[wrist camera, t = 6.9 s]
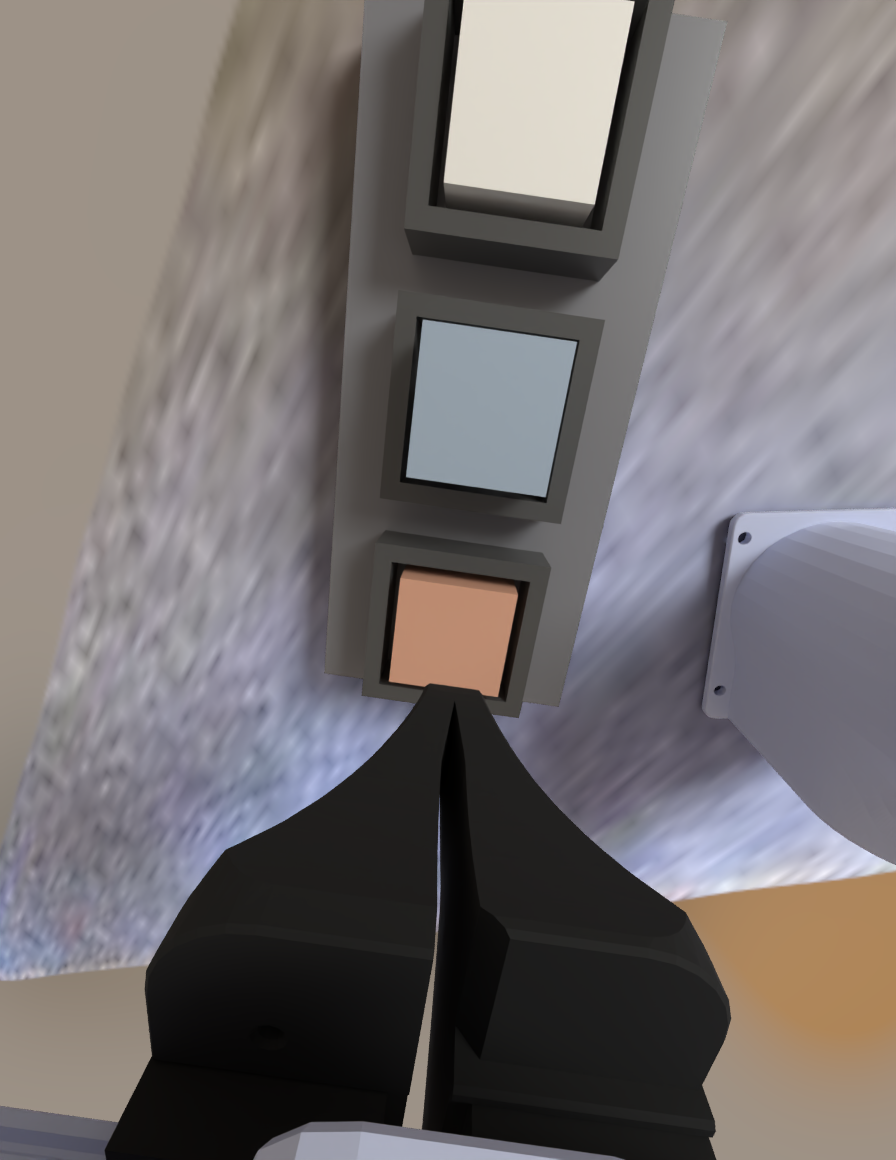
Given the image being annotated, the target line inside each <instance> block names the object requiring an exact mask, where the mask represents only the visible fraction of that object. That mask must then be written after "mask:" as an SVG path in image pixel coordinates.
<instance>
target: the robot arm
mask: <svg viewBox="0 0 896 1160" xmlns="http://www.w3.org/2000/svg"><path fill="white" fill-rule="evenodd" d="M743 532H745V533H746V537H745V539H744V540H743V541H742V542H738V537H739V535H740V534H741V533H743ZM720 685H721V688H720V689H719V690H718V691H714V689H715V688H716V687H717V686H720ZM702 710H703V711H704V713H705V714H706V715H707V716H708V717H710V718H714V719H729V720H730V721H731V722H732V723H733V724H734V725H735V726H736V727H737V729H738V730H739V731H740V732H741V733H742V734H743V735H744V736H745V737H746V739H747V740H748V741H749V742H750V743H751V744H752V745H753V746H754V747H755V749H756V750H757V751H758V752H759V753H760V754H761V755H762V756H763V757H764V759H765V760H766V761H767V762H768V763H769V764H770V765H771V766H772V767H773V769H774V770H775V771H776V772H777V773H778V774H779V775H780V776H781V777H782V779H783V780H784V781H785V782H786V783H787V784H788V785H789V786H790V787H791V789H792V790H793V791H794V792H795V793H796V794H797V795H798V796H799V797H800V799H801V800H802V801H803V802H804V803H805V804H806V805H807V806H808V807H809V808H810V810H812V811H813V812H814V813H815V814H816V815H817V816H818V817H819V818H820V819H821V820H822V821H824V822H825V823H826V824H827V825H829V826H830V827H831V828H832V829H834V830H835V831H836V832H838V833H839V834H841V835H842V836H844V837H845V838H847V839H848V840H850V841H851V842H853V843H855V844H856V845H858V846H860V847H861V848H863V849H865V850H867V851H868V852H870V853H872V854H874V855H876V856H878V857H880V858H882V859H884V860H886V861H888V862H890V863H892V864H895V865H896V508H868V509H834V510H801V511H767V512H742V513H738V514H737V515H735V516H734V517H733V518H732V519H731V521H730V524H729V530H728V536H727V543H726V550H725V556H724V563H723V569H722V576H721V583H720V589H719V596H718V602H717V609H716V616H715V622H714V629H713V635H712V642H711V649H710V655H709V662H708V668H707V675H706V682H705V688H704V695H703V701H702ZM439 796H440V872H441V892H440V916H439V929H438V942H437V956H436V968H435V981H434V994H433V1006H432V1019H431V1030H430V1042H429V1054H428V1066H427V1078H426V1090H425V1102H424V1114H423V1125H422V1130H420V1129H413V1128H406V1127H402V1124H403V1118H404V1113H405V1107H406V1102H407V1096H408V1095H409V1092H410V1086H411V1081H412V1075H413V1070H414V1064H415V1059H416V1053H417V1047H418V1042H419V1036H420V1030H421V1025H422V1020H423V1014H424V1008H425V1003H426V997H427V992H428V986H429V980H430V975H431V969H432V964H433V956H434V947H435V932H436V917H437V849H438V817H439ZM145 996H146V1005H147V1014H148V1023H149V1032H150V1042H151V1051H152V1057H151V1059H150V1061H149V1063H148V1065H147V1067H146V1069H145V1071H144V1073H143V1075H142V1077H141V1079H140V1081H139V1083H138V1085H137V1087H136V1089H135V1091H134V1093H133V1095H132V1097H131V1098H130V1100H129V1102H128V1104H127V1107H126V1108H125V1110H124V1112H123V1114H122V1116H121V1118H120V1120H119V1122H112V1121H104V1120H97V1119H90V1118H82V1117H76V1116H69V1115H61V1114H54V1113H47V1112H40V1111H33V1110H26V1109H19V1108H11V1107H4V1106H0V1160H716V1158H715V1155H714V1151H713V1149H712V1146H711V1143H710V1140H709V1137H713V1135H714V1133H715V1132H716V1130H715V1120H714V1118H713V1115H712V1112H711V1109H710V1107H709V1104H708V1101H707V1098H706V1095H705V1092H704V1090H703V1087H702V1084H703V1082H704V1080H705V1078H706V1076H707V1074H708V1072H709V1070H710V1068H711V1066H712V1064H713V1062H714V1060H715V1058H716V1056H717V1054H718V1053H719V1051H720V1048H721V1047H722V1045H723V1043H724V1040H725V1038H726V1035H727V1031H728V1028H729V1024H730V1021H731V1015H730V1006H729V999H728V997H727V995H726V993H725V991H724V988H723V986H722V984H721V982H720V980H719V977H718V975H717V973H716V971H715V968H714V966H713V964H712V962H711V960H710V958H709V955H708V953H707V952H706V949H705V947H704V945H703V943H702V942H701V940H700V938H699V936H698V934H697V932H696V931H695V929H694V927H693V925H692V923H691V922H690V920H689V918H688V916H687V914H686V912H684V911H683V910H681V909H680V908H679V907H677V906H676V905H674V904H673V903H672V902H670V901H669V900H667V899H666V898H665V897H663V896H662V895H660V894H659V893H658V892H656V891H655V890H654V889H652V888H651V887H649V886H648V885H647V884H645V883H644V882H642V881H641V880H640V879H638V878H637V877H635V876H634V875H633V874H631V873H630V872H629V871H628V870H626V869H625V868H624V867H623V866H621V865H620V864H619V863H618V862H617V861H615V860H614V859H613V858H612V857H611V856H609V855H608V854H607V853H606V852H604V851H603V850H602V849H601V848H600V847H599V846H598V845H596V844H595V843H594V842H593V841H592V840H591V839H590V838H589V837H587V836H586V835H585V834H584V833H583V832H582V831H581V830H580V829H579V828H578V827H577V826H576V825H575V824H574V823H573V822H572V821H571V820H570V819H569V818H568V817H567V816H566V815H565V814H564V813H563V812H562V811H561V810H560V809H559V808H558V807H557V806H556V805H555V804H554V803H553V802H552V801H551V800H550V798H549V797H548V796H547V795H546V794H545V793H544V791H543V790H542V789H541V788H540V787H539V786H538V784H537V783H536V782H535V781H534V779H533V778H532V777H531V775H530V774H529V773H528V772H527V770H526V769H525V767H524V766H523V764H522V763H521V762H520V760H519V759H518V757H517V756H516V754H515V753H514V751H513V750H512V748H511V747H510V745H509V743H508V742H507V740H506V739H505V737H504V735H503V734H502V732H501V730H500V729H499V727H498V725H497V723H496V721H495V719H494V718H493V716H492V714H491V712H490V710H489V708H488V706H487V704H486V702H485V699H484V697H483V695H482V693H481V692H480V691H479V690H475V689H468V688H461V687H454V686H447V685H440V684H433V683H429V684H428V685H426V686H425V687H424V690H423V692H422V694H421V696H420V698H419V700H418V701H417V703H416V704H415V706H414V707H413V709H412V710H411V712H410V713H409V714H408V716H407V717H406V718H405V720H404V721H403V722H402V724H401V725H400V726H399V727H398V729H397V730H396V731H395V732H394V733H393V734H392V735H391V737H390V738H389V739H388V740H387V741H386V742H385V743H384V744H383V745H382V747H381V748H380V749H379V750H378V751H377V752H376V753H375V754H374V755H373V756H372V757H371V758H370V759H369V760H367V761H366V762H365V763H364V764H363V765H362V766H361V767H360V768H359V769H357V770H356V771H355V772H354V773H353V774H352V775H350V776H349V777H348V778H347V779H345V780H344V781H343V782H341V783H340V784H339V785H338V786H336V787H335V788H334V789H332V790H331V791H330V792H328V793H327V794H326V795H324V796H323V797H321V798H320V799H318V800H317V801H315V802H314V803H312V804H311V805H309V806H307V807H306V808H304V809H303V810H301V811H299V812H298V813H296V814H295V815H293V816H291V817H290V818H288V819H287V820H285V821H283V822H281V823H279V824H278V825H276V826H274V827H272V828H270V829H268V830H266V831H264V832H262V833H260V834H258V835H255V836H253V837H251V838H249V839H247V840H245V841H243V842H241V843H239V844H237V845H235V846H233V847H230V848H228V849H226V850H225V851H224V852H223V854H222V855H221V856H220V857H219V859H218V860H217V861H216V862H215V864H214V865H213V866H212V867H211V869H210V870H209V871H208V873H207V874H206V875H205V876H204V878H203V879H202V881H201V882H200V883H199V885H198V886H197V887H196V888H195V890H194V891H193V892H192V894H191V895H190V897H189V898H188V900H187V901H186V903H185V904H184V906H183V907H182V909H181V910H180V912H179V914H178V915H177V917H176V919H175V921H174V922H173V924H172V926H171V927H170V929H169V931H168V933H167V934H166V936H165V938H164V939H163V941H162V943H161V945H160V946H159V948H158V950H157V951H156V953H155V955H154V957H153V959H152V961H151V962H150V964H149V966H148V968H147V970H146V981H145Z"/></svg>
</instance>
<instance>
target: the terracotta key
mask: <svg viewBox="0 0 896 1160" xmlns="http://www.w3.org/2000/svg"><path fill="white" fill-rule="evenodd" d="M517 597H518V593H517V590H516V587H515V583H514V580H513V579H507V578H500V577H493V576H486V575H479V574H472V573H465V572H459V571H452V570H445V569H438V568H431V567H424V566H417V565H410V564H407V565H406V567H405V569H404V571H403V573H402V576H401V578H400V586H399V595H398V604H397V613H396V622H395V632H394V641H393V650H392V659H391V668H390V677H389V682H396V683H403V684H410V685H417V686H424V687H425V686H426V685H428V684H429V683H433V684H440V685H447V686H454V687H461V688H468V689H475V690H479V691H480V692H481V693H482V695H486V696H493V697H498V694H499V689H500V683H501V678H502V673H503V668H504V663H505V658H506V653H507V648H508V643H509V638H510V633H511V628H512V623H513V617H514V612H515V607H516V602H517Z"/></svg>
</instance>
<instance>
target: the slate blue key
mask: <svg viewBox="0 0 896 1160" xmlns="http://www.w3.org/2000/svg"><path fill="white" fill-rule="evenodd" d="M576 345H577V342H574V341H567V340H560V339H553V338H546V337H539V336H533V335H526V334H519V333H512V332H505V331H498V330H491V329H484V328H477V327H471V326H464V325H457V324H450V323H443V322H436V321H429V320H423V323H422V332H421V341H420V351H419V360H418V370H417V379H416V388H415V398H414V407H413V417H412V426H411V435H410V445H409V454H408V464H407V473H406V477H409V478H416V479H423V480H430V481H437V482H444V483H451V484H458V485H465V486H472V487H479V488H486V489H493V490H500V491H506V492H513V493H520V494H527V495H534V496H541V497H546V493H547V488H548V483H549V478H550V473H551V468H552V463H553V458H554V453H555V448H556V443H557V438H558V433H559V428H560V424H561V419H562V414H563V409H564V404H565V399H566V394H567V389H568V384H569V379H570V374H571V369H572V364H573V359H574V354H575V350H576Z"/></svg>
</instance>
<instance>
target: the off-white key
mask: <svg viewBox="0 0 896 1160" xmlns="http://www.w3.org/2000/svg"><path fill="white" fill-rule="evenodd" d="M634 2H635V1H628V0H464V3H463V12H462V21H461V30H460V39H459V48H458V57H457V66H456V75H455V84H454V93H453V102H452V112H451V121H450V130H449V139H448V148H447V157H446V166H445V175H444V191H445V201H446V208H449V209H455V210H462V211H469V212H476V213H483V214H490V215H497V216H503V217H510V218H517V219H524V220H531V221H538V222H545V223H551V224H558V225H565V226H572V227H579V228H582V226H583V225H584V223H585V221H586V219H587V217H588V216H589V214H590V212H591V210H592V208H593V207H594V205H595V200H596V195H597V190H598V185H599V180H600V175H601V170H602V165H603V160H604V155H605V150H606V144H607V139H608V134H609V129H610V124H611V119H612V114H613V109H614V104H615V99H616V94H617V89H618V84H619V78H620V73H621V68H622V63H623V58H624V53H625V48H626V43H627V38H628V33H629V28H630V23H631V17H632V12H633V7H634Z"/></svg>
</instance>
